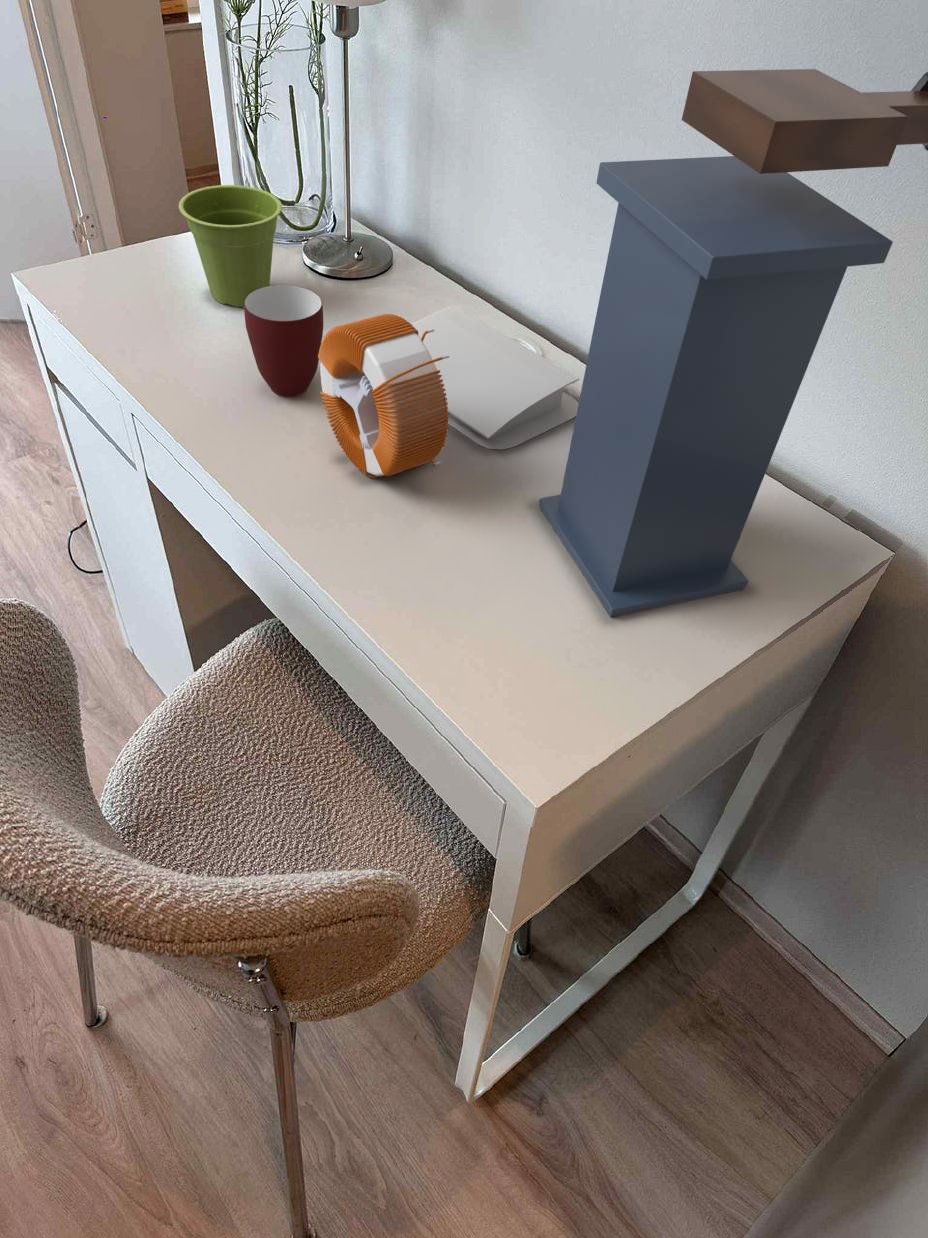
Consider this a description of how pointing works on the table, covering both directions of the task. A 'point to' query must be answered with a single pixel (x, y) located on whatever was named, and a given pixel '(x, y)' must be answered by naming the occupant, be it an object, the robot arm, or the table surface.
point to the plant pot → (233, 237)
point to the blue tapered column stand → (694, 369)
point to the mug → (285, 336)
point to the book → (494, 381)
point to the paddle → (802, 119)
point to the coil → (383, 394)
